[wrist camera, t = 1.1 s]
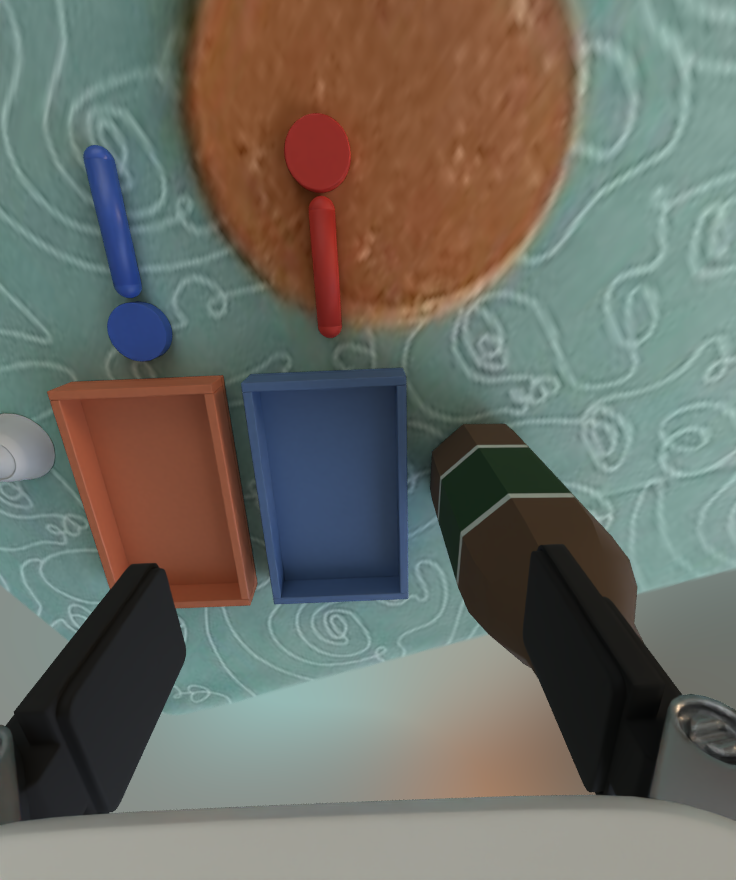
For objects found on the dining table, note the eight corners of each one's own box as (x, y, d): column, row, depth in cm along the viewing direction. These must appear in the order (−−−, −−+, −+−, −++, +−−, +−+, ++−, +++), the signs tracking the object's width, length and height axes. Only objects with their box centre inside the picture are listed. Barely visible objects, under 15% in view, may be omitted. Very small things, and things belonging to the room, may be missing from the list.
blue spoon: (71, 150, 24) (53, 143, 23) (135, 147, 24) (121, 140, 23) (123, 359, 29) (111, 364, 27) (177, 357, 29) (168, 362, 27)
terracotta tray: (71, 381, 29) (46, 391, 27) (223, 375, 29) (211, 384, 27) (132, 588, 36) (116, 611, 33) (257, 583, 35) (250, 605, 33)
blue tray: (250, 373, 29) (240, 383, 27) (402, 367, 29) (406, 376, 27) (279, 582, 35) (274, 604, 33) (405, 577, 35) (408, 599, 33)
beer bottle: (445, 527, 34) (606, 1037, 11) (409, 441, 31) (527, 885, 9) (543, 492, 33) (934, 977, 10) (515, 400, 30) (959, 784, 8)
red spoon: (359, 334, 28) (359, 338, 27) (303, 337, 28) (300, 340, 27) (349, 117, 24) (348, 107, 23) (283, 120, 24) (278, 111, 23)
